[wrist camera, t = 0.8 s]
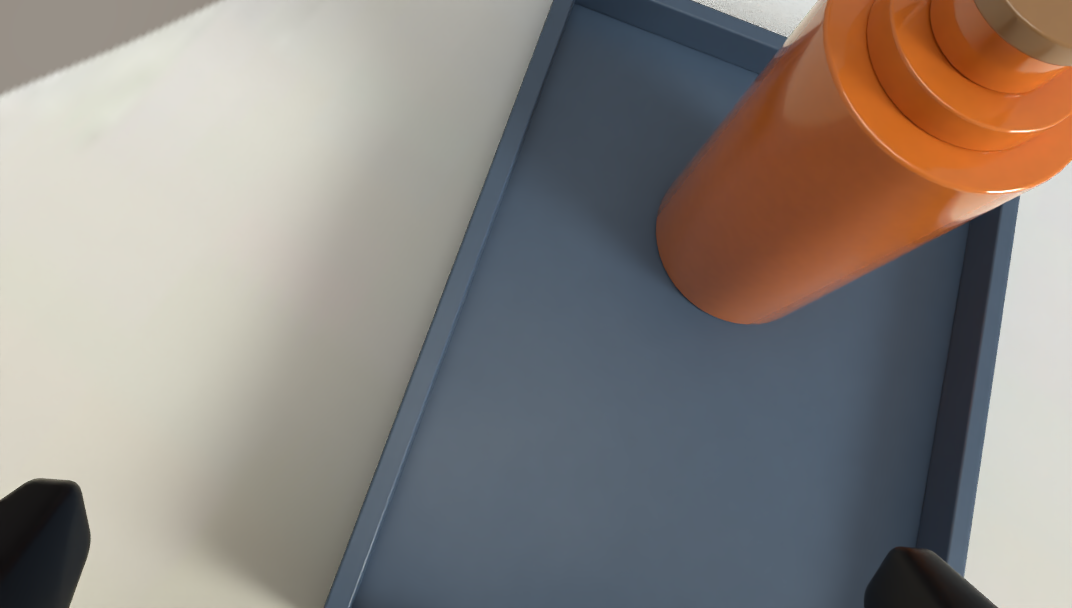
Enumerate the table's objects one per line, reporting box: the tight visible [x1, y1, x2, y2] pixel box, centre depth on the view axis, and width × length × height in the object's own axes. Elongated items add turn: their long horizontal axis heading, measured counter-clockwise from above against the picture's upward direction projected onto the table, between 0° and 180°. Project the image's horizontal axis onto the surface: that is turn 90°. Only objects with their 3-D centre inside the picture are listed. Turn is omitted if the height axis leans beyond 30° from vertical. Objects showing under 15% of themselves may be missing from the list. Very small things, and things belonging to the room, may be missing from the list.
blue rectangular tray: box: [324, 0, 1020, 608], centre depth 23 cm, size 21×16×2 cm
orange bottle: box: [656, 0, 1072, 324], centre depth 18 cm, size 6×6×13 cm
